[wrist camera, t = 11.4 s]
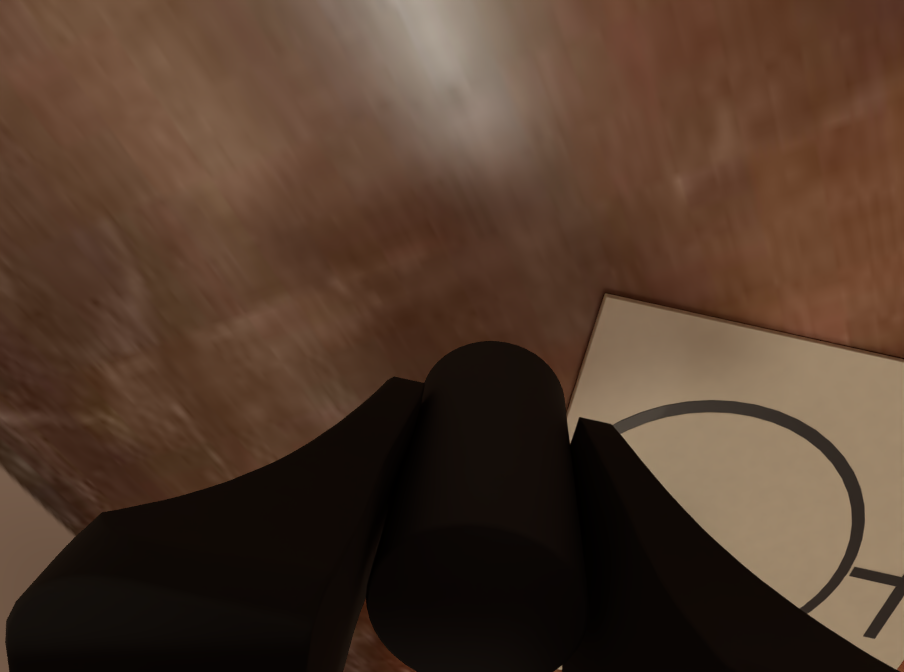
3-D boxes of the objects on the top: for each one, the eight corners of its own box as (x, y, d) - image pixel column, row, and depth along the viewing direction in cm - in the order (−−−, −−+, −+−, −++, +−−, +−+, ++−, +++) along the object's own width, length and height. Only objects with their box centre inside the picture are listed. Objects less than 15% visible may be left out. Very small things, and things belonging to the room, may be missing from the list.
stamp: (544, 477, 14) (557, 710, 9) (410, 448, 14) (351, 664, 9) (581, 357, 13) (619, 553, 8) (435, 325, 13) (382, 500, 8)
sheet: (846, 727, 25) (850, 736, 25) (490, 647, 25) (490, 655, 25) (1080, 397, 19) (1090, 404, 18) (604, 292, 19) (606, 297, 19)
